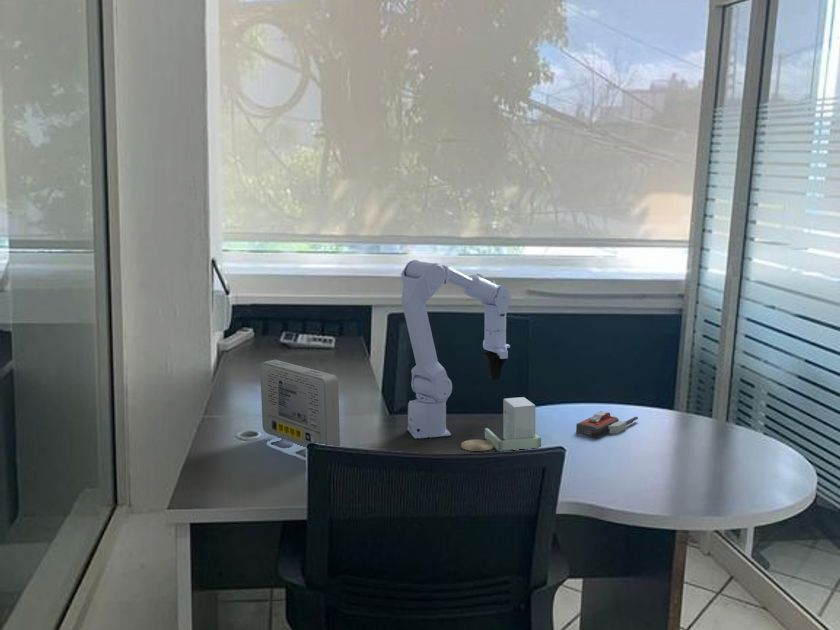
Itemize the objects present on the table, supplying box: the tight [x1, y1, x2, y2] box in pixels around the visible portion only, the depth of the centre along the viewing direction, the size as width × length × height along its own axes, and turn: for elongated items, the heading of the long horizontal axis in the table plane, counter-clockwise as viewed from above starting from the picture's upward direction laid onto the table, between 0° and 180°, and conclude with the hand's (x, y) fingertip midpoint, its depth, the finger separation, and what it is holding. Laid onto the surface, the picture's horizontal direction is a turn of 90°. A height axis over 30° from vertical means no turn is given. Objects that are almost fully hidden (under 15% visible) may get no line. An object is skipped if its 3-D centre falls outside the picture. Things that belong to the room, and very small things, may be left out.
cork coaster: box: [460, 439, 495, 452], centre depth 210 cm, size 8×8×1 cm
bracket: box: [484, 427, 542, 452], centre depth 212 cm, size 11×11×2 cm
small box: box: [502, 396, 536, 440], centre depth 212 cm, size 8×6×10 cm
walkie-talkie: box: [575, 410, 639, 439], centre depth 223 cm, size 9×4×20 cm
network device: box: [259, 359, 341, 447], centre depth 208 cm, size 26×9×20 cm, turn 45°
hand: (494, 379), depth 232 cm, fingers closed
